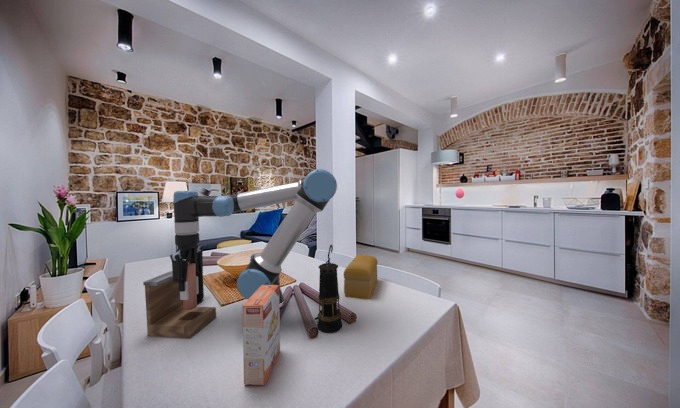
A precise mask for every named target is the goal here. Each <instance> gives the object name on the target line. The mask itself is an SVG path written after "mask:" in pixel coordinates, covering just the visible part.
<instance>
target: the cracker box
mask: <svg viewBox="0 0 680 408" xmlns="http://www.w3.org/2000/svg"><path fill="white" fill-rule="evenodd" d="M241 310H242V312H241V313H242V350H243V351H242V353H243V354H242V355H243V385H244V384H252V385H251V386H266V384H267V381H268V379H269V376H270V375H271V372H272V370H273V368H274V365H275V363H276V362H277V359H278V356H279V354H280V351H281V330H280V329H281V324H280V323H281V321H280V317H281V315H280V309H279V285H261V286H260V287H259V288H258V290H257V291H256V292H255V293H254V294H253V295H252V296H251V297H250V298H249V299H246V301H245V302H244V303H242V309H241Z"/></svg>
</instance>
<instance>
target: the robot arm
mask: <svg viewBox="0 0 680 408" xmlns="http://www.w3.org/2000/svg"><path fill="white" fill-rule="evenodd" d="M337 188H338V182H337V180H336V178H335V176H334V175H333V174H332V173H331V172H330V171H328V170H326V169H323V168H318V169H313V170H311V171H310V172H309V173H307V175H305V178H300V179H299V180H298V181H296V182H290V183H286V184H280V185H275V186H271V187H270V186H269V187H266V188H259V189H255V190H249V191H245V192H240V193H234V194H233V193H232V194H229V195H228V194H227V195H199V193H198V191H196V190H176V191H174V193H173V201H172V205H173V217H174V220H173V221H174V223H173V224H174V233H175V235H174V245H176V246H177V248H176V253H174V254H170V256H169V258H170V260H171V269H172V270H171V271H172V272H173V282H178V283H179V292H180V300H188V299H189V293H188V281H186V277H187V269H188V262H189V263H195V268H196V294H198V293H199V288H198V283H199V276H201V274H202V273H201V272H203V273H204V266H203V265H204V263H203V262H204V261H203V259H204V258H203V254H204V253H203V251H204V247H203V246H199V245H198V244H199V243H200V233H199V231H200V217H220V218H222V217H223V218H224V217H229V216H232V215H233V214H235V213H238V212H244V211H248V210H253V209H259V208H263V207H264V208H265V207H269V206H275V205H279V204H280V205H281V204H283V203H289V202H294V201H295V202H294V203H293V205H292V207H291V208H290V209H289V211H288V213H287V214H286V216H285V217H284V218H283V220H282V221H281V223H280V224H279V226H278V228H277V229H276V231H275V232H274V233H273V235H272V237H271V238H270V239H269V241H268V242H267V243H266V245H265V246H264V248H263V250H262V251H261V252H257V253H253V254H251V255H250V259H249V263H248V264H247V266H246V268H244V270H243V271H242V272H241V273H240V274H238V275H239V276H238V278H237V281H236V289H237V291H238V294H239V295H240V296H241V297H243V298H244V299H246V300H248V299H249V298H250V297H251V296H252V295H253V294H254V293H255V292H256V291H257V290H258V288H259V287H260V286H261V285H279V304H280V303H282V302H283V301H284V302H285V297H284V294H283V291H282V289H281V285H280V279H281V278H280V274H281V273H282V271H283V269H282V265H283V263H284V261H285V260H286V258H287V257H288V255H289V254H290V252H291V251H292V249H293V248H294V246H295V245H296V243H297V242H298V240H299V239H300V237H301V236H302V234H303V233H304V231H305V230H306V229H307V227H308V226H309V224H310V222H311V221H312V220H313V218H314V217H315V215H316V214H317V213H320V212H323V210H325V207H326V206H327V204H329V202H330V200H331V199H332V198H333V197H334V196H335V194H336V192H337Z"/></svg>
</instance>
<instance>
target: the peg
mask: <svg viewBox="0 0 680 408" xmlns="http://www.w3.org/2000/svg"><path fill="white" fill-rule="evenodd" d="M186 281H188V293H189V299H188V300H183V310H192V309H194V308H196V307H198V304H197V294H196V268H195V263H188V269H187V277H186Z"/></svg>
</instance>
